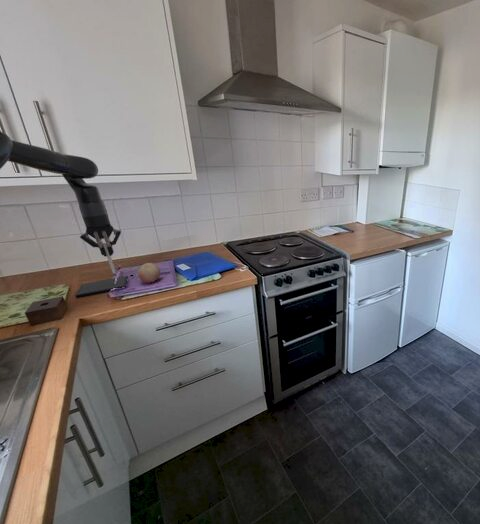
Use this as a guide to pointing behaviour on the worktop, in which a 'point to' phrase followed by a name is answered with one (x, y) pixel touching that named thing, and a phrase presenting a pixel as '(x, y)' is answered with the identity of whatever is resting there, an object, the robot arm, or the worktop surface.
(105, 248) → the stylus
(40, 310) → the pen holder
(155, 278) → the fruit
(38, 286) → the worktop surface
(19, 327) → the worktop surface
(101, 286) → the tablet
